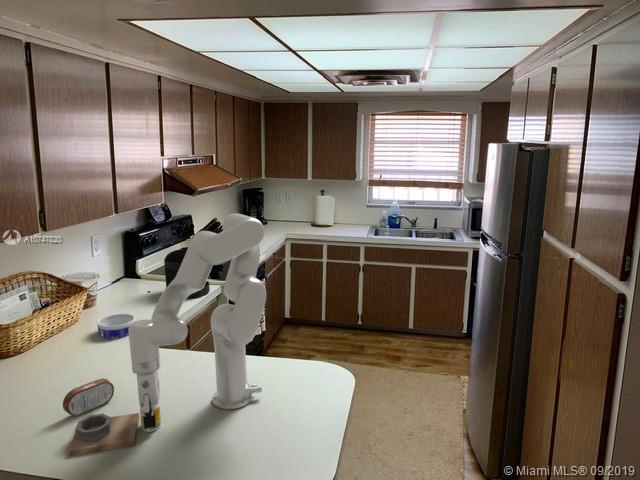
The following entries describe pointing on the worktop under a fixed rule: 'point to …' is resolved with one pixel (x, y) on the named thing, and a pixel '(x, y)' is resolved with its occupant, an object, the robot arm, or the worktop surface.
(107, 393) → the tin
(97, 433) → the holder board
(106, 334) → the dog bowl
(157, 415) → the supplement bottle
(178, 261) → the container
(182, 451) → the worktop surface
